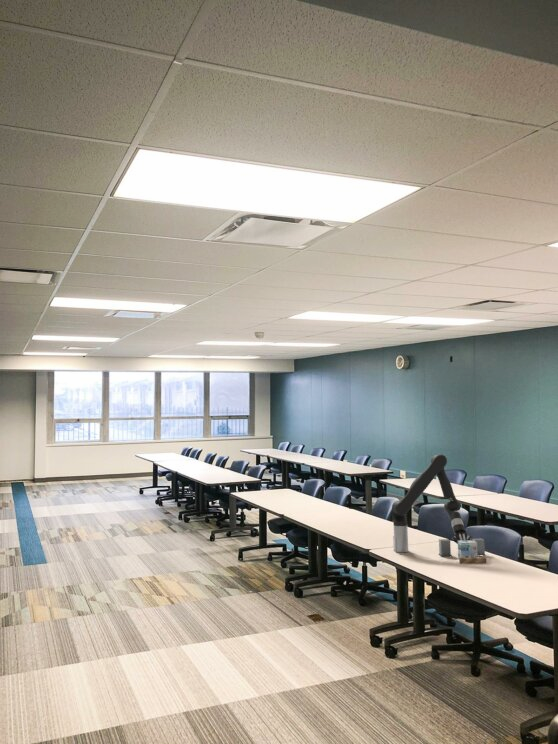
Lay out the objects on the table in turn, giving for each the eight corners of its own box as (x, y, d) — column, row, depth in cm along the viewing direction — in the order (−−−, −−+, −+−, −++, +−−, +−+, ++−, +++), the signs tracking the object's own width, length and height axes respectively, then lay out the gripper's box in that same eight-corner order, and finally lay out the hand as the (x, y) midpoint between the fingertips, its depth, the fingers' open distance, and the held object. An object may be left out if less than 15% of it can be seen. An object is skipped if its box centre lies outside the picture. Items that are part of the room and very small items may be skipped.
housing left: (441, 556, 389) (440, 540, 390) (438, 554, 395) (438, 539, 396) (451, 556, 389) (451, 540, 390) (449, 554, 395) (448, 539, 396)
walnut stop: (460, 563, 369) (460, 558, 370) (459, 562, 372) (459, 557, 372) (486, 563, 370) (486, 558, 370) (485, 562, 372) (485, 557, 372)
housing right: (475, 556, 389) (474, 540, 390) (472, 554, 395) (471, 538, 396) (485, 555, 390) (485, 540, 390) (482, 553, 395) (481, 538, 396)
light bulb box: (461, 560, 379) (460, 542, 380) (457, 557, 385) (457, 540, 386) (478, 559, 379) (477, 542, 380) (474, 557, 386) (473, 540, 387)
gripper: (449, 523, 397) (455, 546, 384) (469, 523, 397) (476, 546, 384) (447, 530, 402) (453, 553, 389) (467, 530, 402) (474, 552, 389)
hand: (465, 549), depth 386 cm, fingers closed
